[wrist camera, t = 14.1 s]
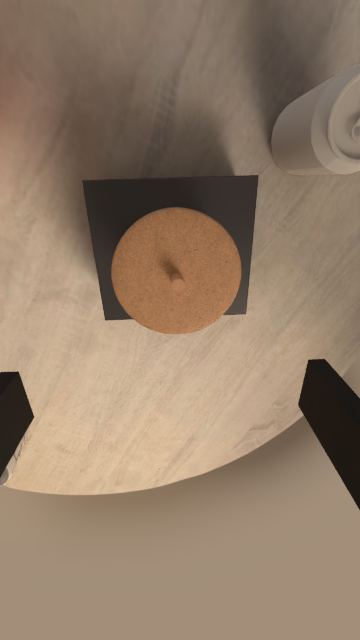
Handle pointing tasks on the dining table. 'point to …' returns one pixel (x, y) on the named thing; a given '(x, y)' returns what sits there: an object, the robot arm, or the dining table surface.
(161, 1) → the dining table surface
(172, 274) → the lidded bowl
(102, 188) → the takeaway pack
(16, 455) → the mug
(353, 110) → the can
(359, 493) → the robot arm
